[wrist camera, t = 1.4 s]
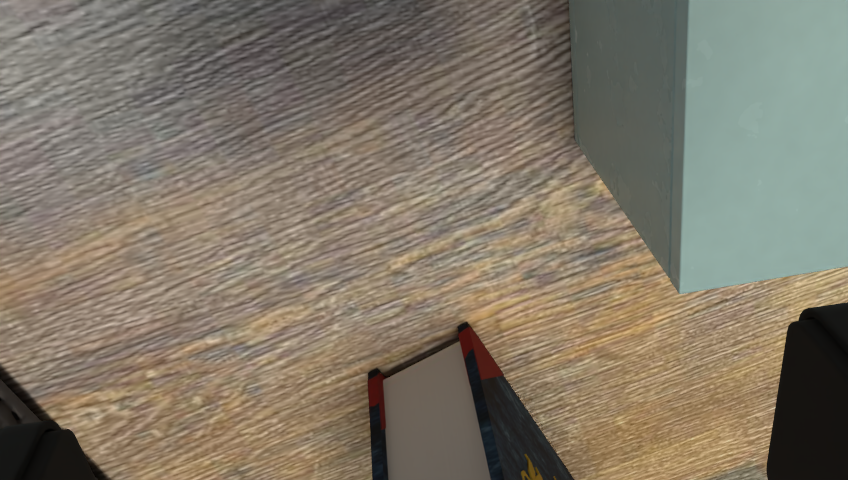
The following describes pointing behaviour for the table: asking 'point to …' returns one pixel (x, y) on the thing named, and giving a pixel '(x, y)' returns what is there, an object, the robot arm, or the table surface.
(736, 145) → the lid
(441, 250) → the table surface
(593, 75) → the grey-green hollow open box
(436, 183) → the table surface
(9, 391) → the storage bin
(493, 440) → the book
